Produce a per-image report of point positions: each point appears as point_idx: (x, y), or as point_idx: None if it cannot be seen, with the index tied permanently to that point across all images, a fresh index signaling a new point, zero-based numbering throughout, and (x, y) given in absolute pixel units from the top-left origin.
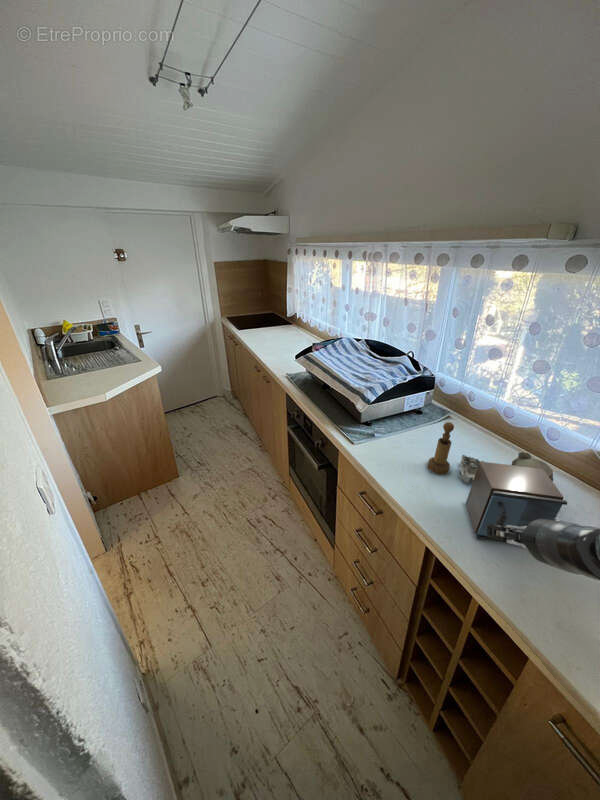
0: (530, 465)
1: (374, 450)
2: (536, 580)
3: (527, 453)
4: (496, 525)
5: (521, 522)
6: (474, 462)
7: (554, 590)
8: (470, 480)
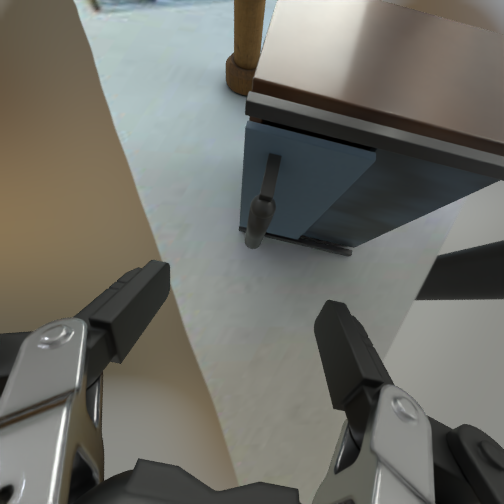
0: None
1: (136, 30)
2: (304, 319)
3: None
4: (67, 320)
5: (330, 215)
6: None
7: None
8: None
